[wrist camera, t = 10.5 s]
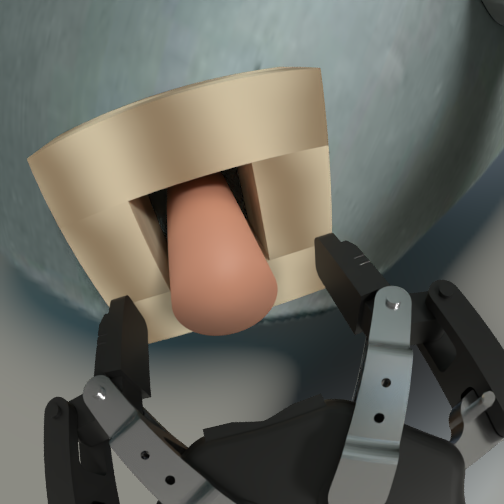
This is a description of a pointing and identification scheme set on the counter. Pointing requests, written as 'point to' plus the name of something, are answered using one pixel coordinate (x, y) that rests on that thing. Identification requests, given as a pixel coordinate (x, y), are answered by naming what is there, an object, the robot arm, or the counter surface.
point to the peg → (215, 260)
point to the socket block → (190, 167)
